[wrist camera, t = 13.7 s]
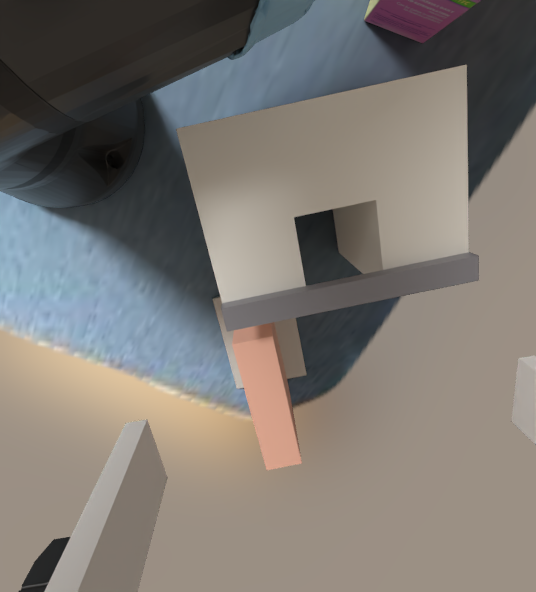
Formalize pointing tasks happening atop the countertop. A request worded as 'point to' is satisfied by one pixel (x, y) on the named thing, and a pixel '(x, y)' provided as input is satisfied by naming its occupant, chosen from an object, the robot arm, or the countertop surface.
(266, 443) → the salmon pink slab
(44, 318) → the countertop surface
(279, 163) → the dispenser
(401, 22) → the box
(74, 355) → the countertop surface
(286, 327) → the mat
